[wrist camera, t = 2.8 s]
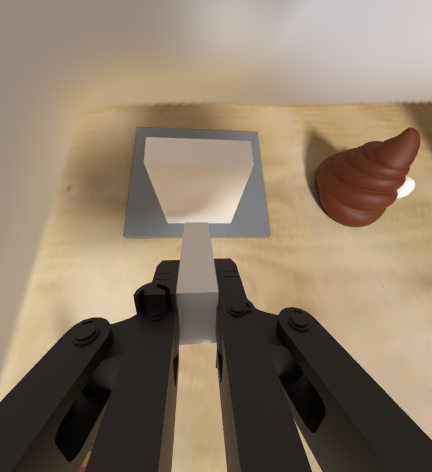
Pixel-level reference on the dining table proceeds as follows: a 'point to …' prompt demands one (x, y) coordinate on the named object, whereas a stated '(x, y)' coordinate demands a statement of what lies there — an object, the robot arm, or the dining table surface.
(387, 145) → the poop emoji
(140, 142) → the slate board
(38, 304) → the dining table surface
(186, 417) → the dining table surface
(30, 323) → the dining table surface
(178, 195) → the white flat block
